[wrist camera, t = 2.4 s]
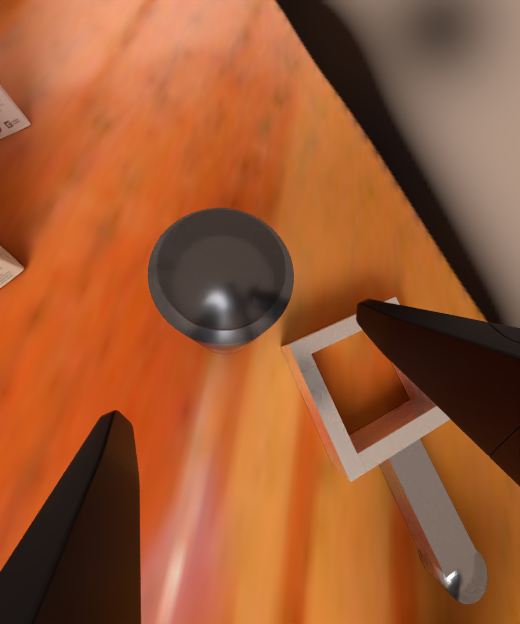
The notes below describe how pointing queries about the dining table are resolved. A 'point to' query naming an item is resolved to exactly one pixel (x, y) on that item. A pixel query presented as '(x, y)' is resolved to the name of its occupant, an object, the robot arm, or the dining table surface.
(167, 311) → the dark grey metal cylinder
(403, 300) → the dining table surface
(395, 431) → the square frame with handle
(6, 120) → the supplement box
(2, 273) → the box
